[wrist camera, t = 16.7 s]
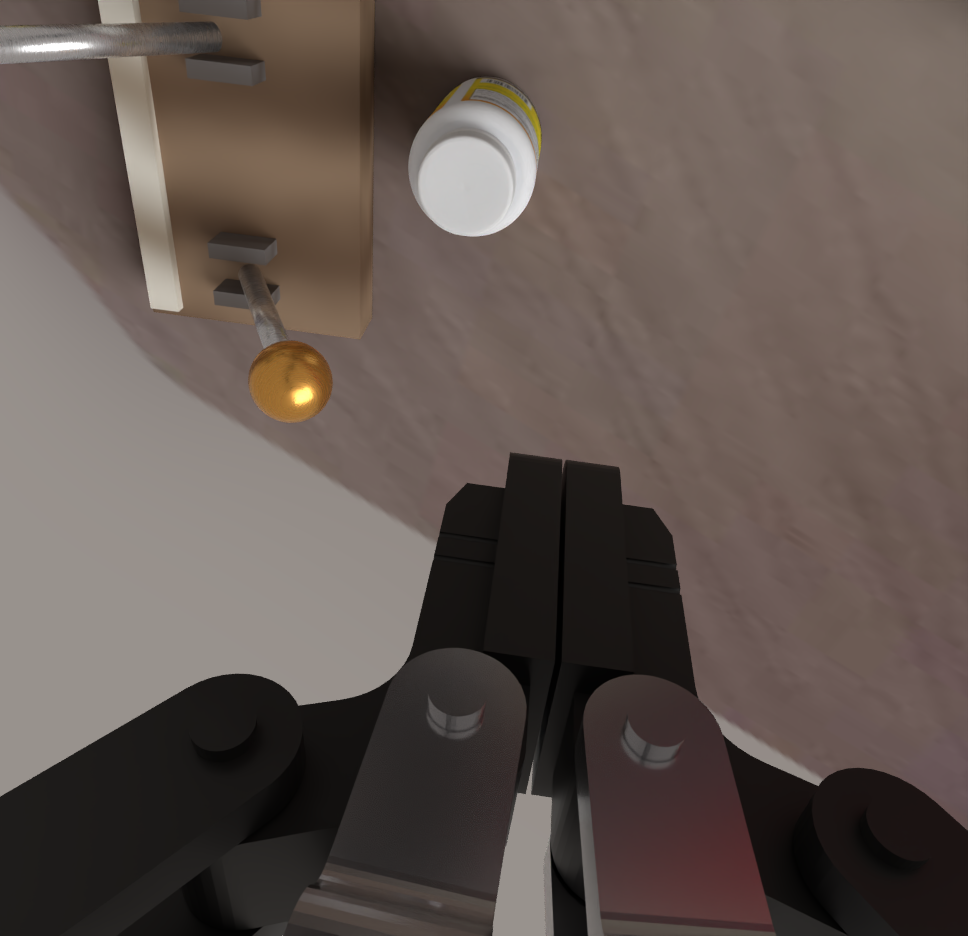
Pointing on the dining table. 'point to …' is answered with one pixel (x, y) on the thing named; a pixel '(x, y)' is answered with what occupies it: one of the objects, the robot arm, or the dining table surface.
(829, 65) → the dining table surface
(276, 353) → the lever orange
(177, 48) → the lever black
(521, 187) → the supplement bottle
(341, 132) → the panel
